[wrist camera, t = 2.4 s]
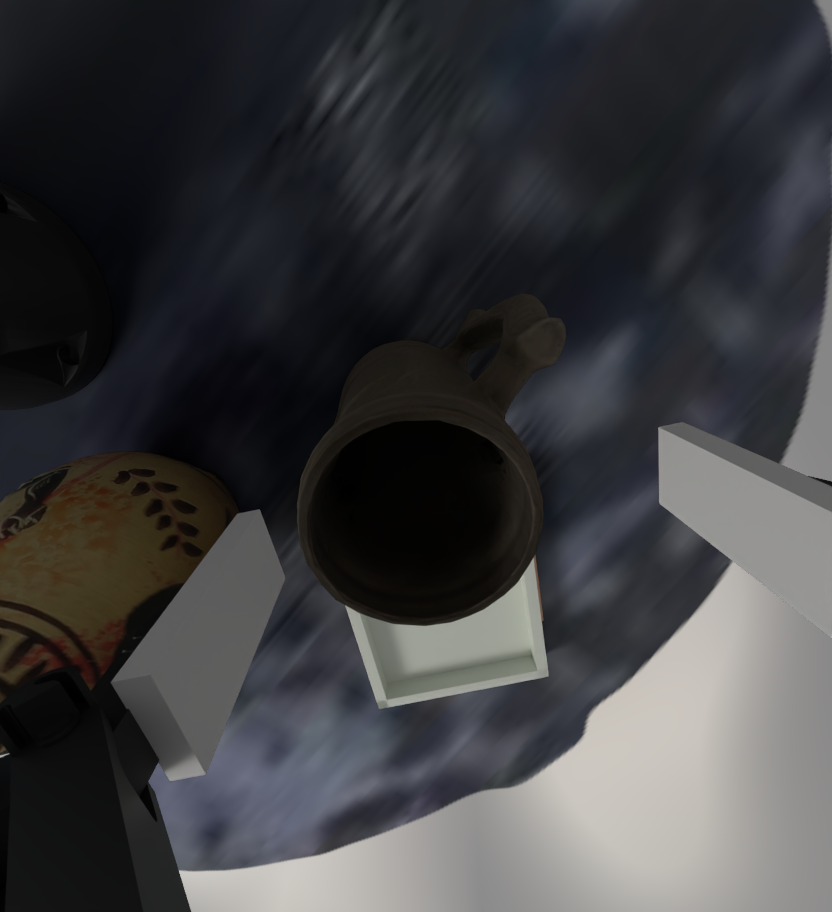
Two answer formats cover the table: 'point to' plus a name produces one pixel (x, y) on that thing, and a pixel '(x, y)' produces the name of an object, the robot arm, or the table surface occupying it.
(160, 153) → the table surface
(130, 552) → the ceramic jug
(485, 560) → the beer stein
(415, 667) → the tray
